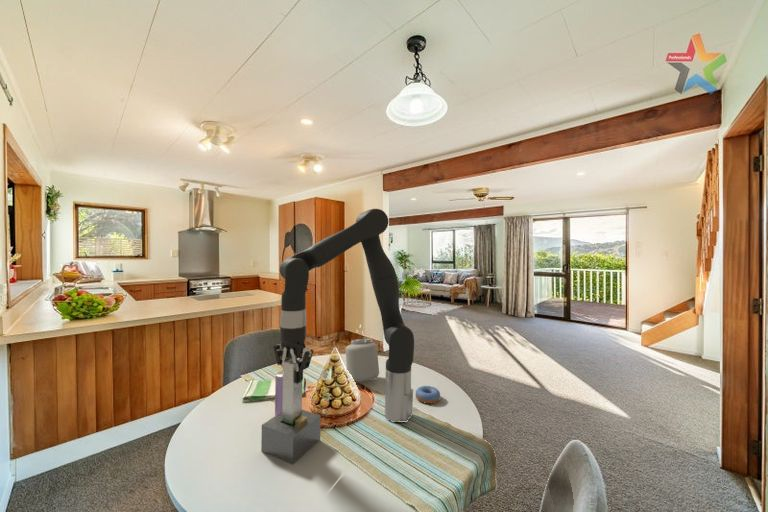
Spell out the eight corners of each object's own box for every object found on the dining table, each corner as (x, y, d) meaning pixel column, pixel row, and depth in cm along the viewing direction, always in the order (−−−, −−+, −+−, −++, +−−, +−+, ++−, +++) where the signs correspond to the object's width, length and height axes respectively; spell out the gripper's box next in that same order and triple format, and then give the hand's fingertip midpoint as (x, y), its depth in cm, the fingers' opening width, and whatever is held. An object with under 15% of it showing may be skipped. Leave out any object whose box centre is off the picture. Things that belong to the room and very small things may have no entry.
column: (301, 418, 90) (302, 359, 90) (292, 425, 86) (293, 364, 86) (291, 415, 91) (292, 357, 91) (282, 422, 88) (282, 361, 88)
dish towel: (304, 398, 119) (304, 391, 119) (241, 404, 114) (241, 397, 114) (304, 380, 137) (304, 374, 137) (250, 384, 131) (250, 378, 131)
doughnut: (445, 402, 116) (444, 390, 117) (421, 407, 113) (420, 395, 114) (434, 393, 126) (433, 382, 126) (412, 397, 123) (411, 386, 123)
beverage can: (286, 420, 102) (287, 377, 102) (271, 418, 104) (272, 375, 104) (295, 411, 108) (296, 370, 108) (280, 409, 110) (281, 369, 109)
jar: (338, 374, 142) (339, 323, 142) (366, 369, 150) (366, 320, 149) (355, 390, 126) (356, 332, 126) (384, 383, 133) (385, 328, 133)
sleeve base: (320, 440, 92) (320, 411, 91) (292, 465, 81) (293, 432, 81) (290, 430, 97) (291, 402, 97) (261, 452, 86) (261, 420, 86)
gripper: (320, 324, 89) (319, 381, 89) (284, 319, 95) (284, 372, 95) (303, 330, 82) (302, 391, 82) (266, 324, 88) (265, 381, 88)
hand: (292, 380), depth 89 cm, fingers closed on column, 4 cm apart
